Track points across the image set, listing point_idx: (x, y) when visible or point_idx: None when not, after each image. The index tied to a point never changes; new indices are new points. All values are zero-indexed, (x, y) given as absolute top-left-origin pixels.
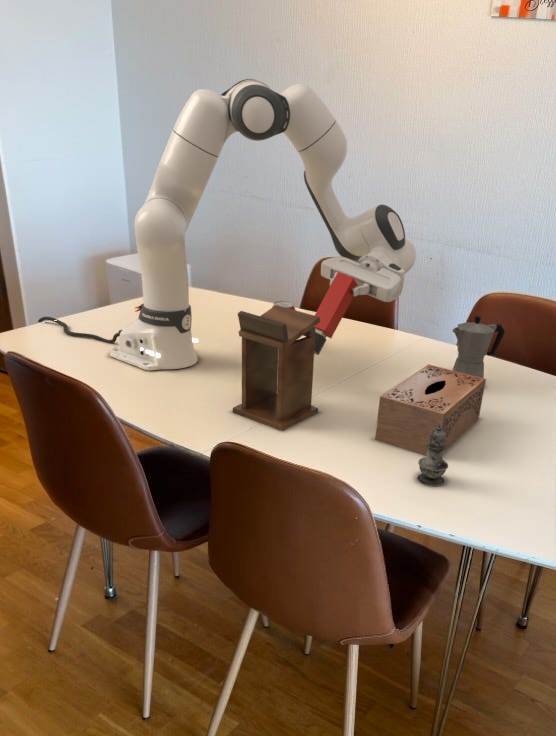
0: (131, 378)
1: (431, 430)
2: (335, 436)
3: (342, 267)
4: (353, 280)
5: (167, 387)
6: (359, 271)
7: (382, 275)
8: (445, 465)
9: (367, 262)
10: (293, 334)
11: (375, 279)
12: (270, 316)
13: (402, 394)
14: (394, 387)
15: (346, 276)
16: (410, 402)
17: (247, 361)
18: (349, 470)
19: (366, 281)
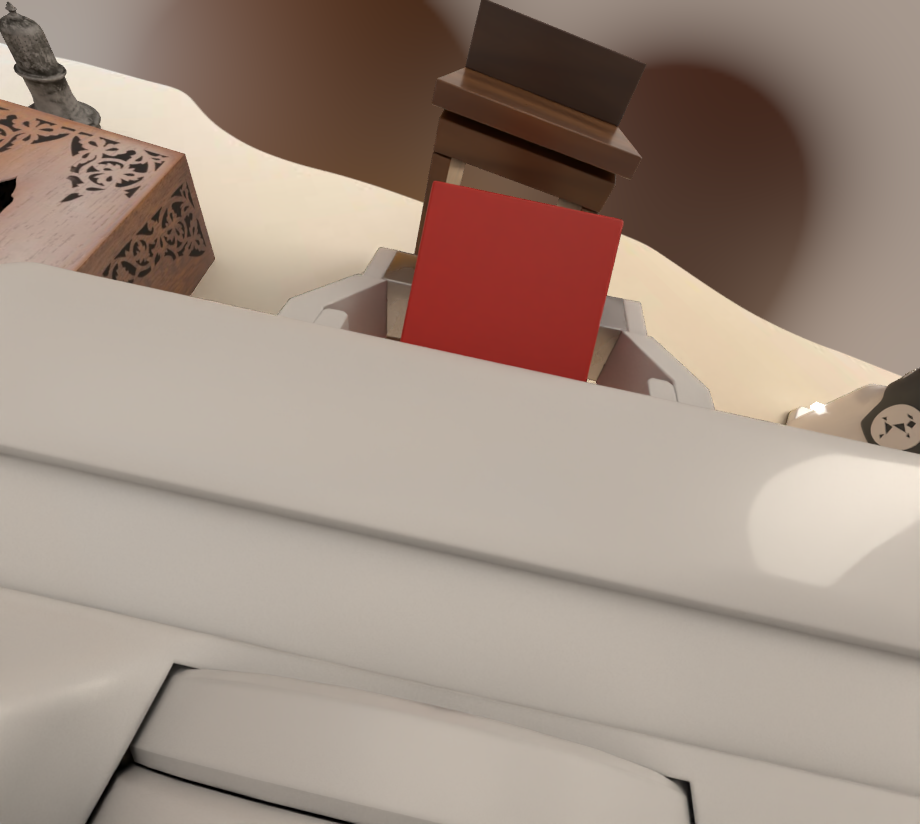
0: (775, 369)
1: (39, 29)
2: (309, 256)
3: (747, 464)
4: (428, 210)
5: (701, 355)
6: (495, 479)
7: (21, 587)
8: (31, 107)
9: (473, 737)
10: (468, 72)
11: (188, 368)
12: (597, 128)
13: (108, 169)
14: (135, 202)
15: (509, 201)
16: (84, 135)
17: (559, 200)
18: (254, 165)
19: (314, 324)
